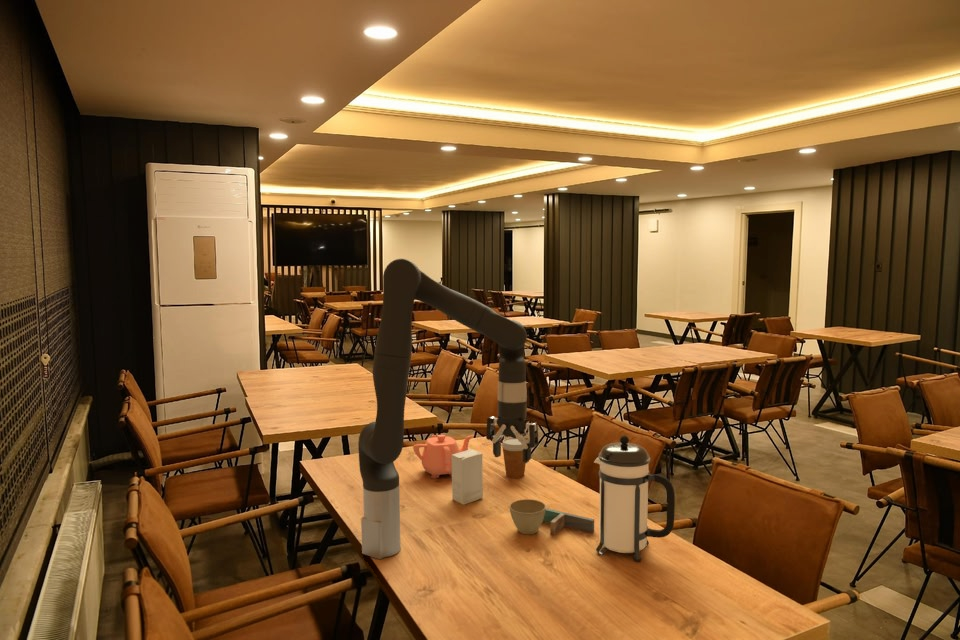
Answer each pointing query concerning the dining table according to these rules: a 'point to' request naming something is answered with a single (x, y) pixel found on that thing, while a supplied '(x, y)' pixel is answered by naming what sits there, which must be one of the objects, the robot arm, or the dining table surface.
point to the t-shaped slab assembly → (567, 521)
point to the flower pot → (527, 515)
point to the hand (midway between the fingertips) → (511, 459)
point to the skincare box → (467, 476)
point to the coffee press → (628, 499)
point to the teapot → (439, 454)
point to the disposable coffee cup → (513, 457)
